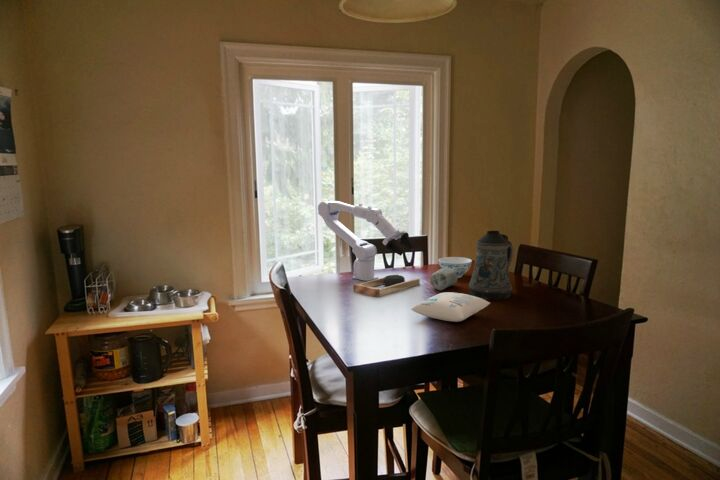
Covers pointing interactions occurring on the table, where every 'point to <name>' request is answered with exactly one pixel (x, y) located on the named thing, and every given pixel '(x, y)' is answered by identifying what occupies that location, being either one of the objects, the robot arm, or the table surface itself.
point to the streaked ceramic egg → (443, 278)
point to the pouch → (450, 306)
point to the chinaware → (456, 264)
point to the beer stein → (492, 267)
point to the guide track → (369, 290)
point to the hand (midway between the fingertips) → (407, 251)
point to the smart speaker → (393, 280)
